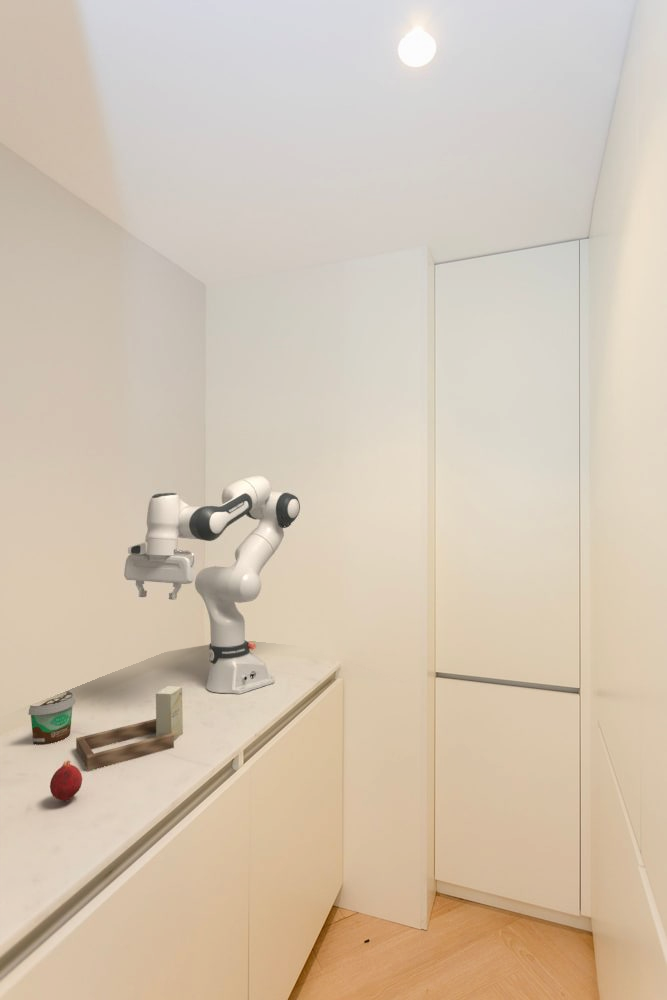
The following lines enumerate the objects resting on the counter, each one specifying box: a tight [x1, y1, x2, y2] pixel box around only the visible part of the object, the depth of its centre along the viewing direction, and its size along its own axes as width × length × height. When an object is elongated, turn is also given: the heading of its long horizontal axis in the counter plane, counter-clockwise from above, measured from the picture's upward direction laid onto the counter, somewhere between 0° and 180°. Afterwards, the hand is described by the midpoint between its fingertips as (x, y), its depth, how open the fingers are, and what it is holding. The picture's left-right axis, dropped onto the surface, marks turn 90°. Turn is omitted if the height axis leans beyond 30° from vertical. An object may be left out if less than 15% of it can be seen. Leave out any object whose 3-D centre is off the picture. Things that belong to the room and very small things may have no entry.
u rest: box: [75, 718, 175, 772], centre depth 131 cm, size 20×13×3 cm, turn 126°
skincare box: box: [155, 685, 184, 741], centre depth 137 cm, size 6×4×12 cm
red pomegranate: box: [49, 759, 83, 803], centre depth 108 cm, size 6×6×8 cm
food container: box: [27, 690, 76, 746], centre depth 137 cm, size 12×6×10 cm, turn 160°
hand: (157, 598), depth 151 cm, fingers open, 8 cm apart
